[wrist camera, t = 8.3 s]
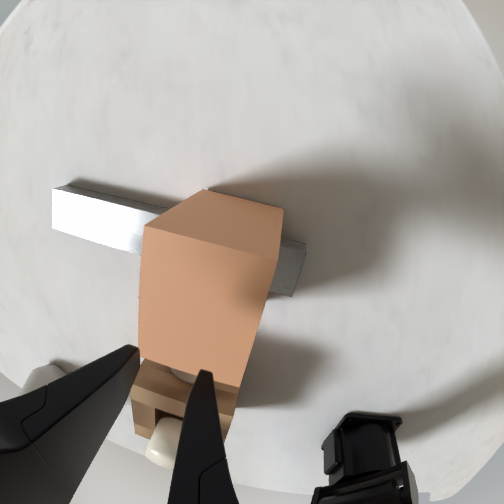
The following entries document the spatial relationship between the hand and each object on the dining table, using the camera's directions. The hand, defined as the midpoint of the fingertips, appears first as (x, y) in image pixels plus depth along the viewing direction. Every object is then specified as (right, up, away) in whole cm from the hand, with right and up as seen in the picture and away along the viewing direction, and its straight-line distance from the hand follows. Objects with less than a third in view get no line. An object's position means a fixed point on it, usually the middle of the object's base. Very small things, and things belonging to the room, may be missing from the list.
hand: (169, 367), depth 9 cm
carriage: (+1, +4, +10) cm, 11 cm away
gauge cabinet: (-2, -7, +15) cm, 16 cm away
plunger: (-3, -9, +9) cm, 13 cm away
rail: (-3, +5, +10) cm, 12 cm away
